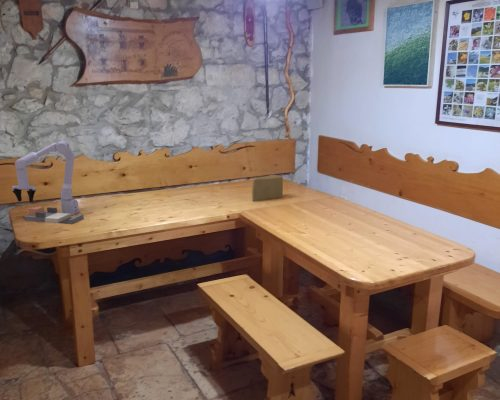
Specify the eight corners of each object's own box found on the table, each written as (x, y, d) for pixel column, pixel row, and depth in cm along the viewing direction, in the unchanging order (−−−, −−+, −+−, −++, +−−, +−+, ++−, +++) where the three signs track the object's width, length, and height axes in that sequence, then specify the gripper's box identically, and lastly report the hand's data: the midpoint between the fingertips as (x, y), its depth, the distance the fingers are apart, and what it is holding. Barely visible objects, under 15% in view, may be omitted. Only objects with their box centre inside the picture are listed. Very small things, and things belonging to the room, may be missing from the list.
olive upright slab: (257, 203, 325) (257, 180, 321) (248, 200, 333) (248, 178, 329) (283, 197, 338) (283, 175, 334) (274, 195, 345) (274, 173, 342)
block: (44, 213, 300) (43, 206, 299) (37, 215, 294) (36, 209, 293) (35, 212, 301) (35, 206, 300) (29, 215, 296) (28, 208, 295)
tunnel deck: (83, 218, 296) (82, 209, 294) (71, 224, 285) (70, 214, 284) (38, 215, 305) (36, 206, 303) (24, 220, 294) (23, 211, 293)
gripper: (37, 178, 298) (40, 200, 302) (16, 177, 301) (19, 199, 305) (30, 180, 292) (33, 203, 295) (8, 179, 295) (11, 202, 298)
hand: (25, 201), depth 299 cm, fingers open, 7 cm apart
